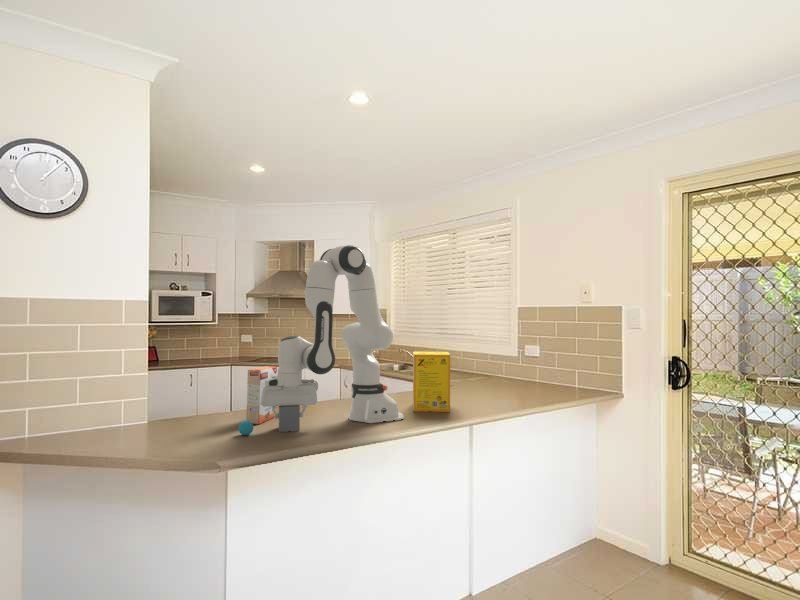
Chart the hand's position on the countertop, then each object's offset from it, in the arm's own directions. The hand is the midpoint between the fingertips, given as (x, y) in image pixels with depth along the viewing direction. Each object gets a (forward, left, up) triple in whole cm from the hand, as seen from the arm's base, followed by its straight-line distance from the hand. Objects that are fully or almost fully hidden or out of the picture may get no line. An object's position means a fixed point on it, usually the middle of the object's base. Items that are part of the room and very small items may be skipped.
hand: (288, 417), depth 173 cm
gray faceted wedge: (0, 0, -4) cm, 4 cm away
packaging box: (-64, -25, -5) cm, 69 cm away
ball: (+15, +5, -2) cm, 16 cm away
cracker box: (+10, -17, -5) cm, 20 cm away
